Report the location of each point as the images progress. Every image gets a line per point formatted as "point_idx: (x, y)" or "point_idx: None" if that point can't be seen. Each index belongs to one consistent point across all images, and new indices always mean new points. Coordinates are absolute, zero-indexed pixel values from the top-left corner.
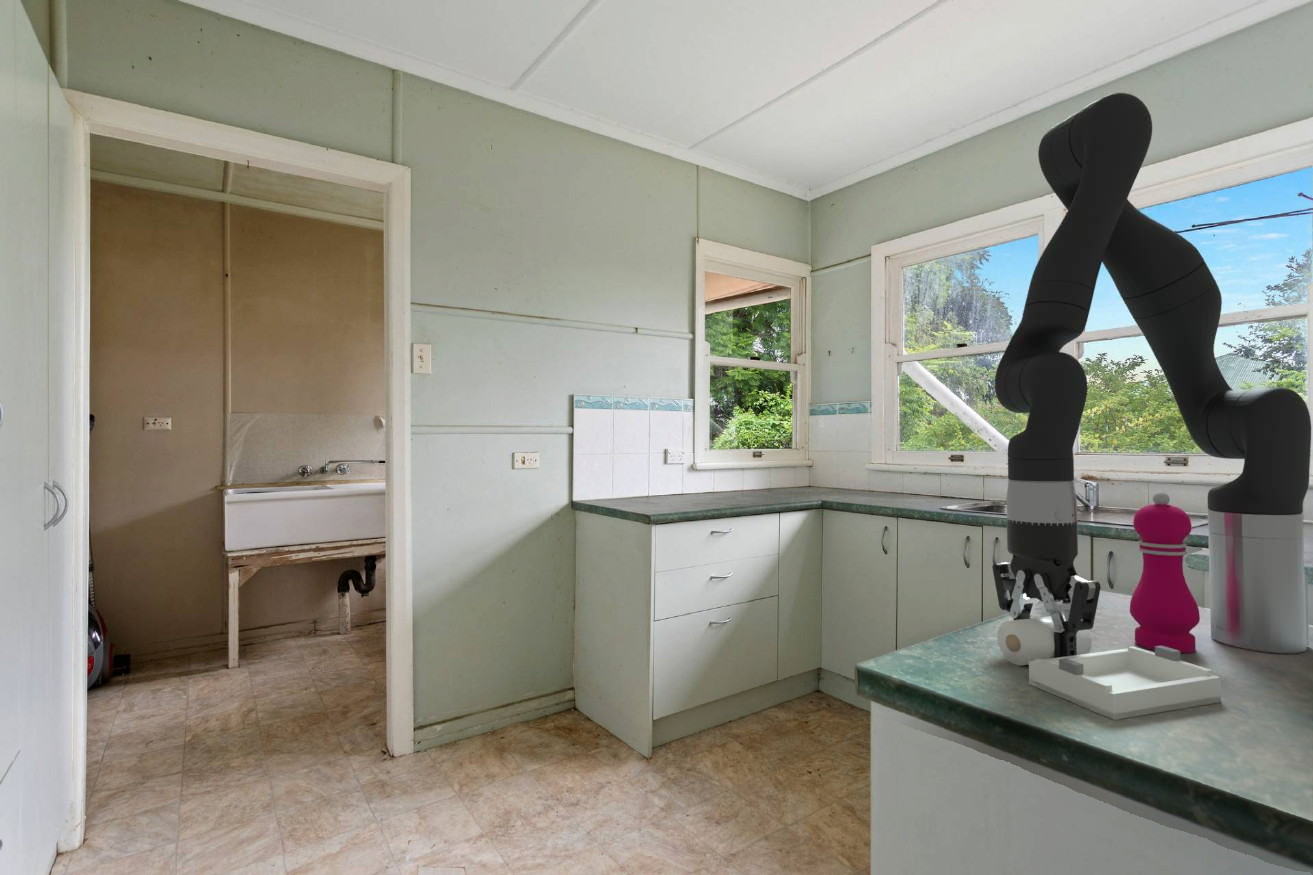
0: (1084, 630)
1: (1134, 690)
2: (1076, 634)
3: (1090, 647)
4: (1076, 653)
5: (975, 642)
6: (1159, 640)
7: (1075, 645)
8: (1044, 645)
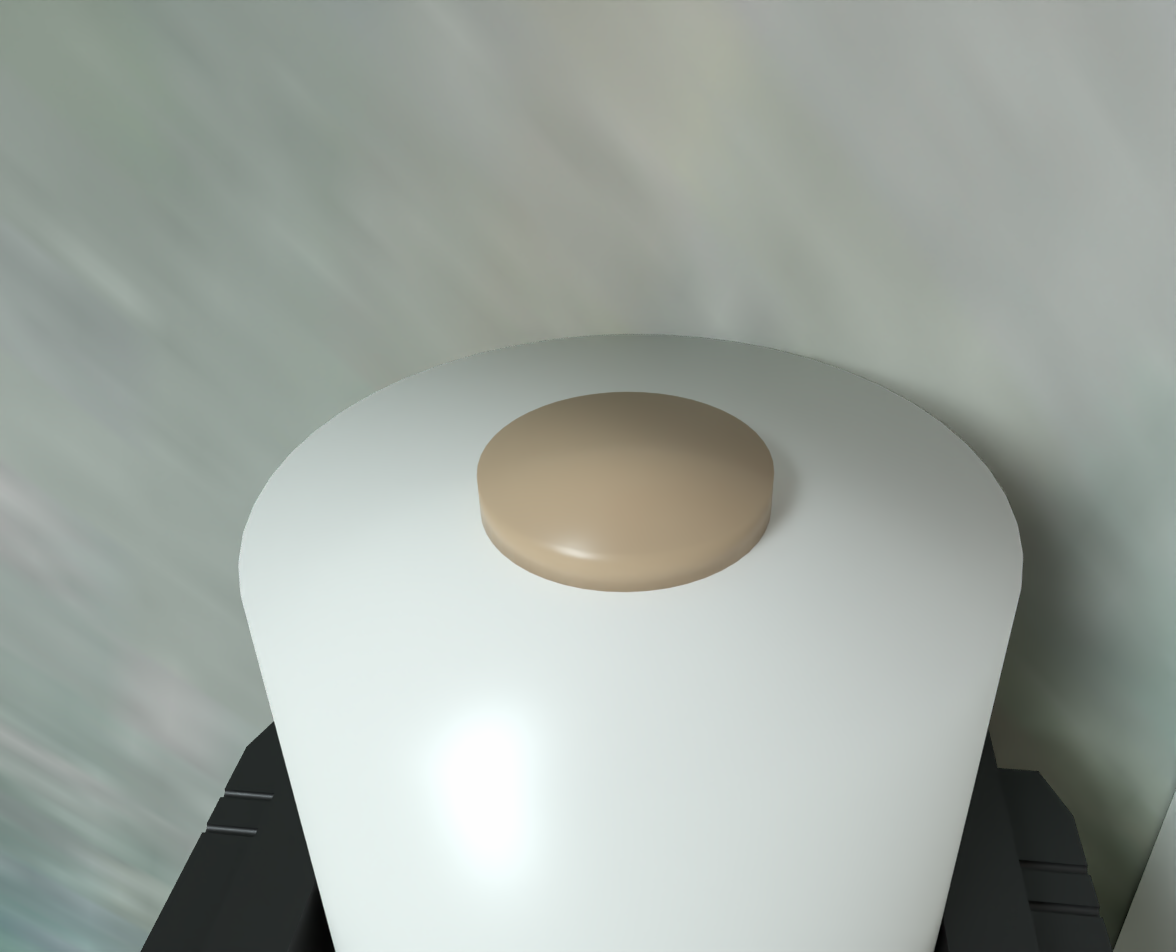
0: (976, 738)
1: None
2: (955, 846)
3: (979, 471)
4: (1079, 841)
5: (8, 785)
6: None
7: (1101, 943)
8: None
